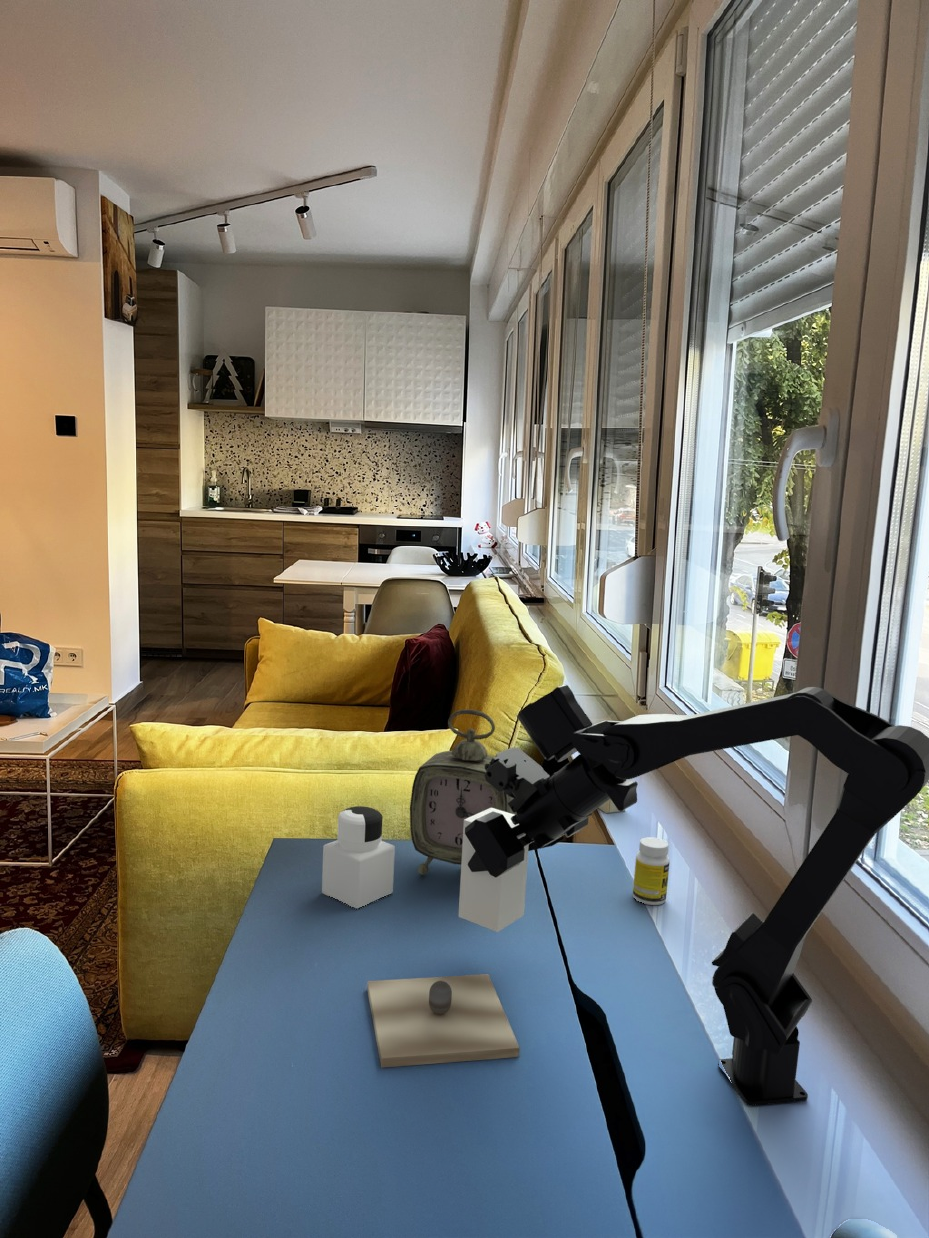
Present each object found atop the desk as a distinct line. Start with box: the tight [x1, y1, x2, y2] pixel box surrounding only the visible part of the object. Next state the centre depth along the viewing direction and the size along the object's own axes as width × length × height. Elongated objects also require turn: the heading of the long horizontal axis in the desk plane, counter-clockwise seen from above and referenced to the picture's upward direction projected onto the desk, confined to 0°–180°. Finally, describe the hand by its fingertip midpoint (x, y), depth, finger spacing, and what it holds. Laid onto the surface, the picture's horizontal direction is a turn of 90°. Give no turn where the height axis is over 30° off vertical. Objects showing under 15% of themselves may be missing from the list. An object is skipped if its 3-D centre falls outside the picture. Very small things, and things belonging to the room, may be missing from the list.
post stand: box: [366, 973, 520, 1069], centre depth 98 cm, size 14×14×4 cm
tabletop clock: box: [409, 708, 517, 876], centre depth 133 cm, size 14×9×25 cm, turn 73°
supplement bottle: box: [632, 836, 671, 906], centre depth 130 cm, size 5×5×8 cm
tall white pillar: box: [458, 808, 529, 933], centre depth 108 cm, size 6×6×12 cm
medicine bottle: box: [321, 805, 396, 908], centre depth 126 cm, size 7×7×12 cm
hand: (484, 860), depth 109 cm, fingers closed on tall white pillar, 6 cm apart
